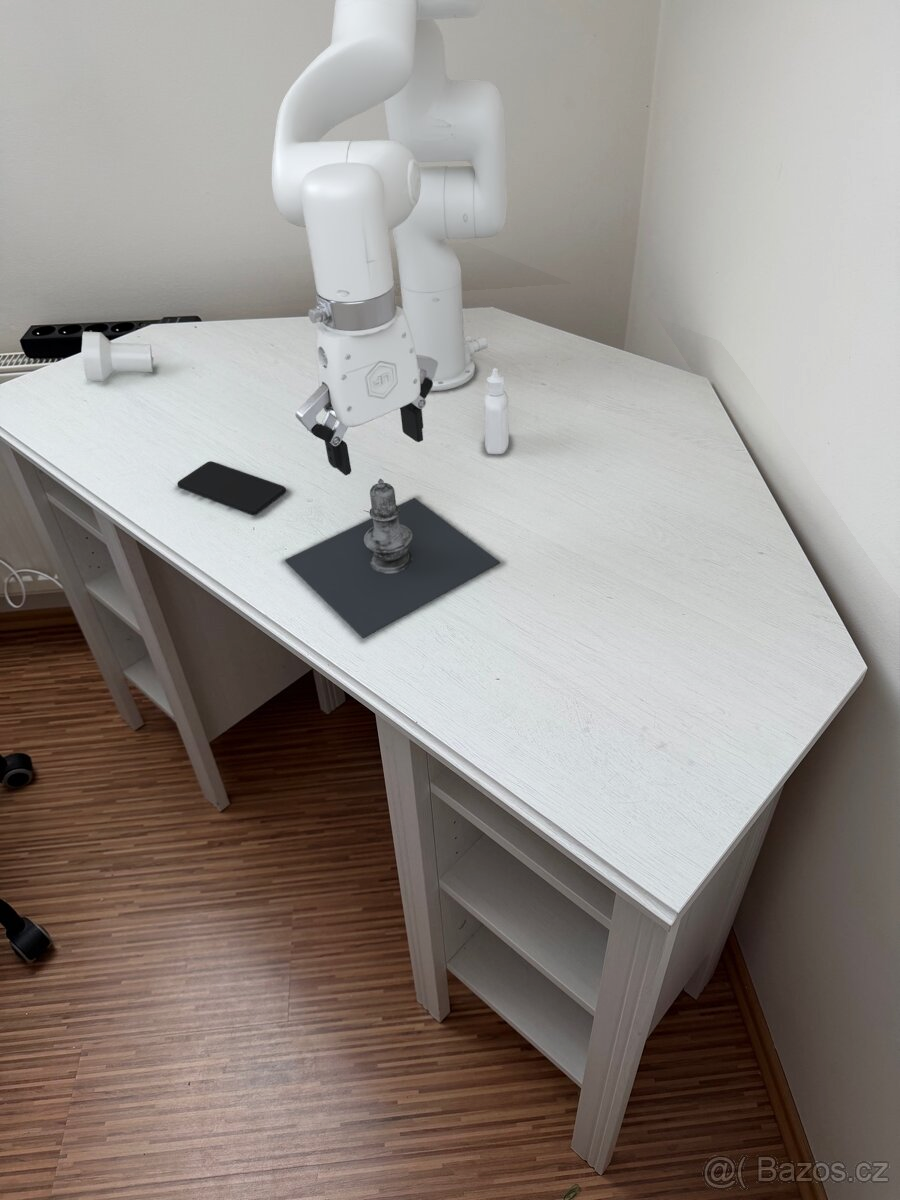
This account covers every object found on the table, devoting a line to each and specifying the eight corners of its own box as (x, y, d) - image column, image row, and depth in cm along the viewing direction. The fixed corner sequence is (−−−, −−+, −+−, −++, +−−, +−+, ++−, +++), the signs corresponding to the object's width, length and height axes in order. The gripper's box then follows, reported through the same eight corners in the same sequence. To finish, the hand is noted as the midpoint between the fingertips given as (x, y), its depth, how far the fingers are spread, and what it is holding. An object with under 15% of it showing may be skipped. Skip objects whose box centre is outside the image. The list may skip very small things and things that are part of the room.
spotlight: (87, 361, 147) (80, 321, 141) (154, 363, 150) (151, 324, 144) (84, 390, 142) (77, 349, 136) (154, 391, 145) (150, 352, 139)
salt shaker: (408, 577, 100) (399, 495, 92) (361, 573, 101) (348, 491, 93) (419, 547, 105) (411, 466, 97) (374, 543, 106) (362, 462, 98)
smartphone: (209, 459, 122) (287, 486, 115) (210, 464, 122) (288, 491, 116) (174, 483, 117) (253, 512, 111) (176, 488, 118) (255, 517, 111)
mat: (414, 499, 113) (414, 497, 113) (499, 563, 102) (499, 561, 102) (285, 561, 104) (284, 559, 104) (362, 638, 93) (362, 636, 93)
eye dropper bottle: (519, 440, 122) (519, 364, 114) (498, 458, 119) (497, 381, 111) (494, 432, 124) (493, 357, 116) (473, 450, 121) (470, 374, 113)
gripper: (300, 346, 76) (329, 498, 88) (450, 290, 83) (459, 437, 95) (262, 320, 81) (294, 468, 92) (407, 269, 88) (420, 412, 99)
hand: (378, 452), depth 94 cm, fingers open, 9 cm apart
